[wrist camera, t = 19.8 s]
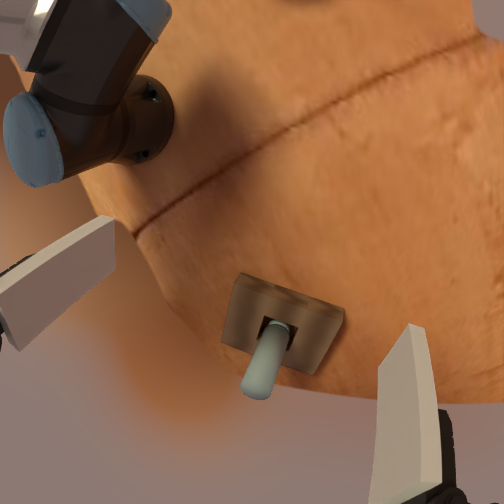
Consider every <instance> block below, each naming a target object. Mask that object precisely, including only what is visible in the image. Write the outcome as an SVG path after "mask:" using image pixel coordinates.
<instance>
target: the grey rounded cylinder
mask: <svg viewBox="0 0 504 504" xmlns="http://www.w3.org/2000/svg"><path fill="white" fill-rule="evenodd" d="M289 332H290V325H289V324H287V323H284V322H281V321H278V320H276V319H272V320H271V321H270V322H269V325H268V326H267V327H266V328H265V329H264V332H263V334H262V337H261V339H260V341H259V344H258V346H257V348H256V350H255V353H254V355H253V357H252V360H251V362H250V364H249V366H248V369H247V371H246V373H245V376H244V378H243V380H242V382H241V385H240V389H241V391H242V392H243V393H244V394H245V395H246V396H248V397H250V398H252V399H256V400H265V399H267V398H269V397H270V394H271V392H272V389H273V386H274V383H275V380H276V377H277V374H278V371H279V368H280V365H281V362H282V359H283V356H284V353H285V350H286V347H287V344H288V341H289V337H290V334H289Z"/></svg>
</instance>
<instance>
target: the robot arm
mask: <svg viewBox="0 0 504 504" xmlns="http://www.w3.org/2000/svg"><path fill="white" fill-rule="evenodd" d="M171 16H172V8H171V6H170V4H169V3H168V2H167V1H166V0H0V54H8V55H13V56H14V57H15V58H16V60H17V62H18V64H19V66H20V68H21V70H22V71H27V72H34V73H35V76H34V79H33V82H32V84H31V87H30V90H29V92H21V93H20V94H19V95H16V96H15V97H14V98H13V99H12V100H11V101H10V102H9V103H8V105H7V108H6V111H5V115H4V123H3V136H4V144H5V148H6V152H7V156H8V159H9V162H10V164H11V166H12V168H13V170H14V172H15V173H16V175H17V176H18V177H19V178H20V179H21V181H22V182H24V183H25V184H27V185H28V186H31V187H42V186H45V185H48V184H51V183H59V182H60V181H62V180H64V179H66V178H69V177H71V176H73V175H76V174H79V173H81V172H84V171H86V170H89V169H92V168H94V167H97V166H100V165H102V164H105V163H108V162H109V163H117V164H124V165H135V164H140V163H143V162H145V161H148V160H150V159H152V158H154V157H155V156H157V155H158V154H159V153H160V152H161V151H162V150H163V149H164V147H165V146H166V144H167V142H168V140H169V138H170V136H171V133H172V129H173V122H174V111H173V105H172V101H171V98H170V96H169V94H168V92H167V90H166V89H165V87H164V86H163V85H162V84H161V83H160V82H159V81H157V80H156V79H154V78H152V77H150V76H147V75H136V73H137V72H138V70H139V68H140V67H141V65H142V63H143V62H144V60H145V59H146V57H147V56H148V54H149V52H150V51H151V49H152V48H153V46H154V45H155V44H157V43H158V38H159V36H160V35H161V33H162V31H163V30H164V28H165V27H166V25H167V23H168V22H169V20H170V19H171ZM114 239H115V237H114V219H113V218H110V217H108V216H105V215H100V216H99V217H97V218H95V219H93V220H91V221H90V222H88V223H86V224H84V225H83V226H81V227H79V228H78V229H76V230H74V231H72V232H71V233H69V234H67V235H66V236H64V237H62V238H60V239H59V240H57V241H55V242H54V243H52V244H51V245H49V246H47V247H46V248H44V249H43V250H41V251H39V252H38V253H35V254H33V255H29V256H26V257H25V258H23V259H22V260H20V261H18V262H17V264H14V265H13V266H11V267H10V268H9V269H7V270H5V271H4V272H2V273H1V274H0V350H1V345H2V337H1V334H2V333H3V332H5V334H6V336H7V339H8V341H9V343H10V344H12V345H13V346H14V347H15V348H16V349H17V350H18V351H19V352H20V351H21V350H22V349H23V348H25V347H26V346H27V345H28V344H29V343H30V342H31V341H32V340H33V339H34V338H35V337H36V336H38V334H40V333H41V332H42V331H43V330H44V329H45V328H46V327H48V326H49V325H50V324H51V323H52V322H53V321H54V320H55V319H56V318H58V317H59V316H60V315H61V314H62V313H63V312H65V311H66V310H67V309H68V308H69V307H70V306H71V305H73V304H74V303H75V302H76V301H77V300H79V299H80V298H81V297H82V296H83V295H85V294H86V293H87V292H88V291H89V290H90V289H92V288H93V287H94V286H95V285H97V284H98V283H99V282H100V281H102V280H103V279H104V278H105V277H107V276H108V275H109V274H110V273H111V272H113V271H114V270H115V269H116V266H115V240H114ZM452 431H453V430H452V422H451V420H450V418H449V416H448V414H447V411H446V410H441V409H438V407H437V399H436V391H435V384H434V378H433V371H432V366H431V360H430V354H429V349H428V344H427V339H426V334H425V330H424V328H422V327H419V326H416V325H413V324H410V323H409V324H408V325H407V327H406V328H405V330H404V331H403V333H402V334H401V336H400V337H399V339H398V340H397V342H396V343H395V345H394V346H393V348H392V349H391V350H390V352H389V353H388V355H387V356H386V357H385V359H384V360H383V362H382V363H381V364H380V366H379V367H378V399H377V422H376V439H375V450H374V462H373V470H372V479H371V487H370V494H369V501H368V504H470V503H468V502H467V498H466V495H465V494H464V492H463V491H462V490H460V489H459V488H457V487H456V468H455V452H454V448H453V446H454V440H453V438H452V436H453V432H452ZM491 504H498V503H491Z"/></svg>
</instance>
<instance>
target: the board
mask: <svg viewBox="0 0 504 504" xmlns="http://www.w3.org/2000/svg"><path fill="white" fill-rule="evenodd" d="M343 315H344V308H341V307H338V306H335V305H332V304H330V303H327V302H324V301H321V300H318V299H315V298H312V297H309V296H306V295H303V294H301V293H298V292H295V291H292V290H289V289H286V288H283V287H281V286H278V285H275V284H272V283H269V282H266V281H264V280H261V279H258V278H255V277H252V276H250V275H247V274H244V273H240V275H239V276H238V278H237V279H236V281H235V282H234V285H233V289H232V294H231V298H230V303H229V307H228V312H227V317H226V321H225V326H224V330H223V335H222V340H221V343H224V344H226V345H229V346H231V347H234V348H236V349H239V350H242V351H244V352H247V353H250V354H252V355H254V353H255V350H256V348H257V346H258V344H259V341H260V339H261V337H262V334H263V332H264V328H262V324H263V321H264V318H265V316H267V317H270V318H273V319H276V320H278V321H281V322H284V323H287V324H290V325H293V326H295V327H297V329H296V331H295V334H294V336H293V338H290V337H289V341H288V344H287V347H286V350H285V353H284V356H283V359H282V362H281V365H283V366H286V367H289V368H292V369H295V370H298V371H301V372H304V373H307V374H310V375H313V374H314V372H315V371H316V369H317V367H318V366H319V364H320V362H321V360H322V359H323V357H324V355H325V353H326V352H327V350H328V348H329V346H330V345H331V343H332V341H333V339H334V337H335V335H336V334H337V332H338V330H339V328H340V326H341V324H342V322H343Z"/></svg>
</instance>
